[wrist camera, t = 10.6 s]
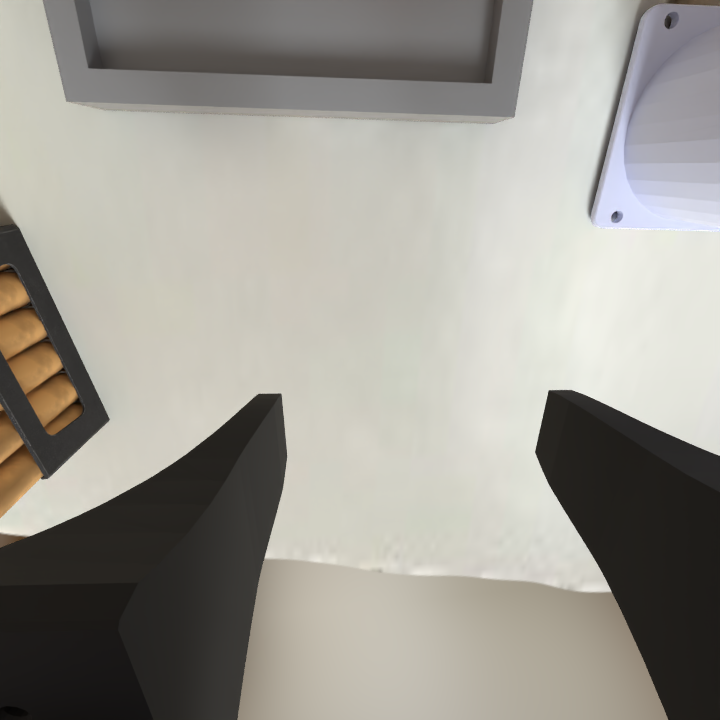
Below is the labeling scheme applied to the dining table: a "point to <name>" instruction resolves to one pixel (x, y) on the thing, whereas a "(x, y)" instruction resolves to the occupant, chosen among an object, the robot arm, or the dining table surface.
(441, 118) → the housing
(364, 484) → the dining table surface
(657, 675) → the robot arm
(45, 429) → the ammunition clip
